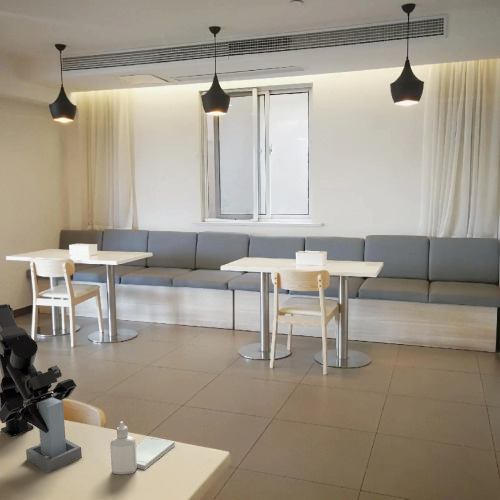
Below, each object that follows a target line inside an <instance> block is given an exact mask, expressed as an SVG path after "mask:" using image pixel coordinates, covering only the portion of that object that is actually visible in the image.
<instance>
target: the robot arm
mask: <svg viewBox="0 0 500 500" xmlns="http://www.w3.org/2000/svg"><path fill="white" fill-rule="evenodd" d="M38 349H39V347H38V344H37V341H36V340H35V339H33V337H32V336H31V334H29V333H28V331H27V330H26V329H25V328H23V327H20V326H18V324H17V322H16V321H15V314H14V308H13V307H11V305H10V304H7V303H5V304H0V372H1V377H2V379H1V382H0V423H1V424H5V426H3V427H1V428H0V431H1V432H3V433H5V434H6V435H8V436H10V437H14V436H17V435H20V434H22V433H25V432H27V431H29V430H32V429H34V428H37V429H38V430H39V429H40V430H42V431H43V432H45V433H47V432H48V431H49V430H48V427H47V425H46V423H45V422H44V420H43V418H42V417H41V415H40V413H39V412H38V406H37V403H39V402H41V401H44V400H46V399H49V398H51V397H52V398H55V399H58V400H61V401H63V400H65V399H68V397H70V396H71V394H72V393H73V392H74V390H75V389H76V387H77V383H76V382H75V381H74V380H73V379H72V378H68V379H67V378H66V379H64V380H62V381H59V382H58V379H59V378H61V377H62V372H61V369H60V368H59V366H58V364H55V365H53V366H50V367H48V368H47V371H46V372H42V371H41V370H39V371H38V370H37V369H36V367H35V365H34V364H35V360H36V358H37V352H38ZM52 384H56V385H55V387H54V388H53V389H51V387H52V386H53V385H52ZM49 389H51V390H49Z"/></svg>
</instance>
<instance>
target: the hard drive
mask: <svg viewBox="0 0 500 500" xmlns="http://www.w3.org/2000/svg"><path fill="white" fill-rule="evenodd" d="M166 440H167V439H162V438H158V437H155V436H148V437H146V438H145V439H143V440H142V441H141V442H140V443H138V444H137V445H136V459H137V468H138V469H141V470H147V468H149V467H150V466H152V464H154V463H155V462H156V461H158V460H159V459H160V458H161V457H162V456H164V455H165V454H166V453H168V452H170V450H171V449H173V448H174V447H175V445H176V443H175V441H173V440H169V439H168V440H167V441H166Z"/></svg>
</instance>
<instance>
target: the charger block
mask: <svg viewBox="0 0 500 500" xmlns="http://www.w3.org/2000/svg"><path fill="white" fill-rule="evenodd" d="M37 408H38V412H39V413H40V415H41V417H42V418H43V420H44V422H45V423H46V425H47V427H48V430H49V431H48V432H47V433H45V432H43V431H42V430H40V429H39V428H38V431H39V441H40V443H39V444H41V454H43V455H42V456H45V457H48V458H49V459H51V458H53V457H55V456H57V455H60V454H62V453H64V452H66V439H67V438H66V428H65V415H64V414H65V413H64V412H65V411H64V401H63V400H62V401H61V400H58V399H55V398H52V397H51V398H49V399H46V400H44V401H41V402H39V403H37Z"/></svg>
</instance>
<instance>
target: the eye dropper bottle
mask: <svg viewBox="0 0 500 500" xmlns="http://www.w3.org/2000/svg"><path fill="white" fill-rule="evenodd" d="M124 423H125V422H124V421H123V420H122V421H120V422H119V426H118V427H116V436H115V437H113V438H112V439H111V441H110V446H109V447H110V449H109V450H110V461H111V463H110V464H111V473H113V474H115V475H130V474H134V473H135V472H136V471H137V459H136V446H137V445H136V439H135V437H133V436H131V435H129V432H128V426H127V425H125V424H124Z"/></svg>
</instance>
